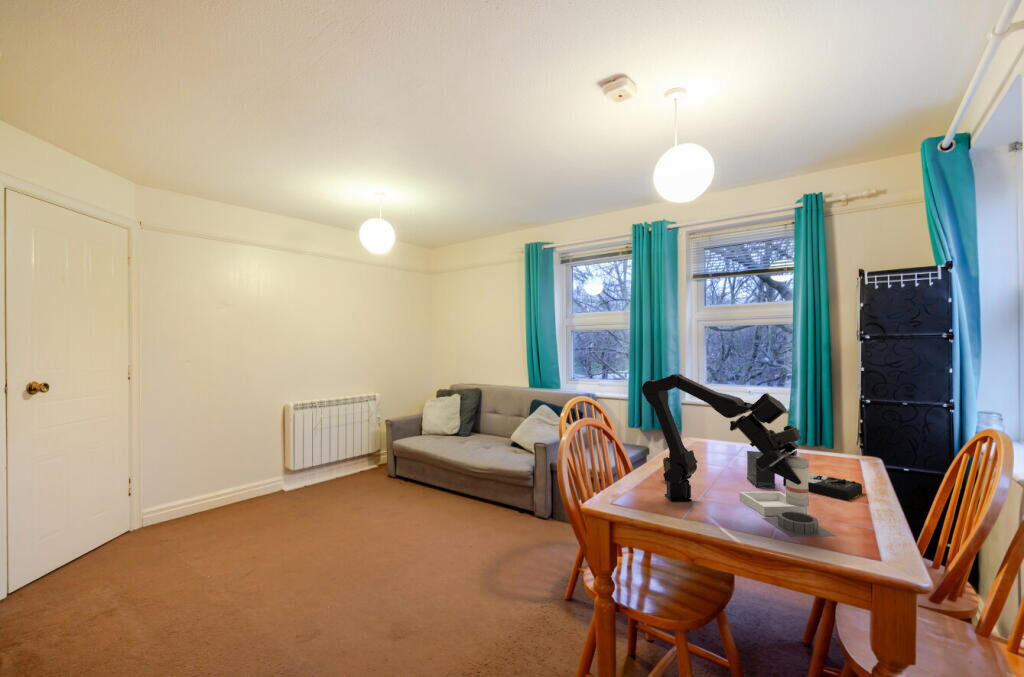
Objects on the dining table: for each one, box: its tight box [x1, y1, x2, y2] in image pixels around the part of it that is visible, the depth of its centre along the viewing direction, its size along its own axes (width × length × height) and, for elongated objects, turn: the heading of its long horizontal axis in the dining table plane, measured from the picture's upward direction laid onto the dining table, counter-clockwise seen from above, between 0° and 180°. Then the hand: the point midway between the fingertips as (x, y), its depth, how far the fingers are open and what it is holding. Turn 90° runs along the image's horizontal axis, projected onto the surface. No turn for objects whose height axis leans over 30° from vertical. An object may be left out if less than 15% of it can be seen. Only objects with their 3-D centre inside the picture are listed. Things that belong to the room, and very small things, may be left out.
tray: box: [739, 491, 808, 517], centre depth 132 cm, size 13×13×4 cm
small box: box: [746, 450, 776, 489], centre depth 158 cm, size 11×6×10 cm, turn 168°
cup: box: [662, 456, 670, 473], centre depth 161 cm, size 8×7×8 cm
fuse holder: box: [761, 511, 837, 538], centre depth 118 cm, size 12×12×4 cm
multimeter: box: [782, 471, 863, 502], centre depth 151 cm, size 13×19×5 cm
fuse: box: [785, 455, 810, 508], centre depth 118 cm, size 5×5×12 cm
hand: (802, 481), depth 117 cm, fingers closed on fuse, 5 cm apart
